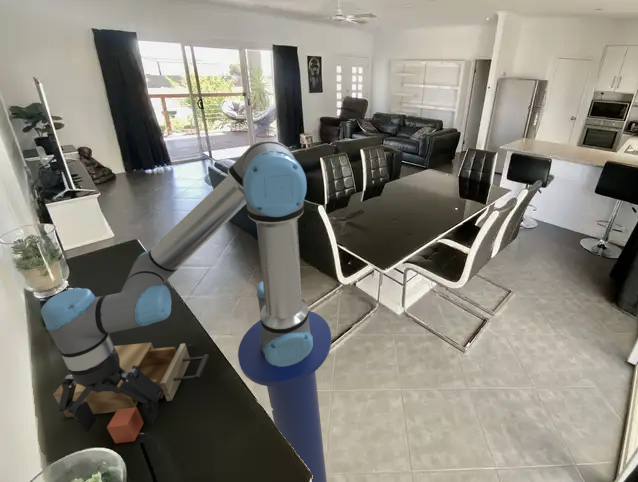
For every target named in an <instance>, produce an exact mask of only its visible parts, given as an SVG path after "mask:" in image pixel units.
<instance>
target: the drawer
mask: <svg viewBox="0 0 638 482" xmlns="http://www.w3.org/2000/svg"><path fill="white" fill-rule="evenodd" d="M209 358H210V356H209V354H203V356H195V357H194V356H193V357H190V355H189V351H188V349H187V345H186V343H184V342H183V343H180V344H179V346H178V348H177V349H176V346H168V347H159V348H158V347H157V348H154V349H149V350H148V352H147V354H146V355H145V357H144V358H143V360H142V362H141V363H140V365H139V366H138V367H139V369H140V371H141V372H142V373H143V374H144V375H145V376H147V377H148V378H149V379H150V380H152V381H153V382H154V383H155V384H157V385H158V386H159V387H161V388H162V389H163V393H162V395H161V397H160V399H163V398H165V400H166V402H170V401H173V399H174V396H175V395H176V392H177V390H178V388H179V386H180V384H181V382H182V381H186V380H195V381H199V380H201V377H202V375H203V372H204V370H205V368H206V365H207V363H208V360H209ZM191 361H192V362H194V361H200V363H199V365H198V367H197V370H196V372H195V374H194V375H186V376H185V373H186V371H187V369H188V367H189V364H190V362H191ZM164 396H165V397H164ZM160 399H159V400H160ZM132 400H133V402H135V401H137V400H135V399H133V398H132Z"/></svg>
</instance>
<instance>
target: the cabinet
mask: <svg viewBox="0 0 638 482" xmlns="http://www.w3.org/2000/svg"><path fill="white" fill-rule="evenodd" d="M114 347H115V349H116V351H117V354H118V356H119V359H120V367H121V368H122V369H123V370H129V369H131V368H132V367H133V366H134V365H136V366H139V365H140V363H141V362H142V360H143V358H144V357H145V355H146V354H147V352H148V350H149V349H155V348H154V345H153V343H152V342H143V343H142V342H141V343H132V344H120V345H114ZM122 382H123V381H122V380H120V382H119V384H118V385H117V387H119V386H120V385H121V383H122ZM84 389H85V387H84V386H82V385H79V384H77V385H76V389H75V392H74V396H73V400H72V401H76V400H77V398H78V397H79V396H80V394H81V393H82V392H83V391H84ZM62 391H63V388H62V385H61V384H60V385H59V387H58V388H57V389H56V390H55V391H54V393H53V394H52V395H53V397H54V398H55V401H56V402H57V404H58V405H59V404H60V399H61V395H62ZM83 402H88V404H89V406H90V408H91V410H92V412H93V414H94V415H100V414H108V413H116V411H117V410H118V409H125V408H134V407H137V405H138V404H139V403H140V402H139V401H135V402H133V400H132V398H131V397H129V396H127V395H125V394H123V393H119V394H117V393H114V392H112V391H102V392H98V393H96V392H94V391H90V393H89V394H88V395H87V397H86V398H85V399H84V400H83ZM83 402H82V403H83ZM82 403H81V405H82ZM63 413H64V416H65V417H66V418H75V417H74V416H73V414H72V413H69V412H68V411H67V410H65V411H64V412H63Z"/></svg>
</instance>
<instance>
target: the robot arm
mask: <svg viewBox="0 0 638 482" xmlns="http://www.w3.org/2000/svg"><path fill="white" fill-rule="evenodd" d="M307 183H308V182H307V177H306V173H305V171H304V169H303V167H302V165H301V164H300V163H299V161H298V160H297V159H296V158H295V156H294V154H293V152H292V151H291V150H290V149H289V148H288V147H287V146H286V145H285V144H283V143H281V142H279V141H276V140H270V139H269V140H268V139H267V140H260V141H258V142H256V143H253V144H252V145H251V146H249V147H248V148H247V149H245V151H244V153H242V154H241V155H240V157H239V158H238V159H237V160H236V161H235V162H234V163H233V164H232V165H231V166H230V167H229V168H228V169H227V176H226V177H225V178H224V179H223V180H222V181H221V182H220V183H219V184H218V185H216V186H215V187H214V189H212V191H210V192H209V193H208V194H207V195H206V196H205V197H204V198H203V199H202V200H201V201H200V202H199V203H198V204H196V206H195V207H193V209H191V210H190V212H188V213H187V214H186V215H185V216H184V217H183V218H182V219H181V220H180V221H179V222H178V223H177V224H176V225H175V226H174V227H173V228H172V229H170V230H169V232H168V233H167V234H166V235H164V236H163V237H162V238H161V239H160V240H159V241H158V242H157V243H156V244H155V245H154V246H152V248H150V250H147V251H144V252H142V253H141V254H140V255H138V257H137V258H136V260H135V261H134V262H133V263H132V266H131V269H130V272H129V273H128V276H127V278H126V280H125V282H124V284H123V287H122V289H121V291H120V292H117V293H112V294H107V295H101V296H98V297H97V296H95V294H94V293H93V292H92V291H91V289H89V288H85V287H84V288H82V287H76V288H75V287H74V288H70V289H67V290H64V291H61V292H59V293H58V294H55V295H54V296H52V297H50V298H49V299H47V300H46V302H45V303H44V304H43V306H42V307H41V308H40V314H41V317H42V319H43V321H44V322H43V323H44V324H45V329H46V330H47V331H48V333H49V334H50V336H51V338H52V339H53V341H54V343H55V345H56V346H57V348H58V351H59V354H60V355H61V357H62V359H63V361H64V364H65V365H66V368H67V370H69V373H68V374H66V376H65V377H64V378H63V380H62V381H61V382H60V386H61V385H62V388H63V391H62V395H61V399H60V404H58V408H57V411H58V412H59V413H64V411H65V410H67V411H68V412H69V413H72V414H73V416H74V417H73V418H74V420H75V421H78V422H79V424H80V426H81V428H82V430H83V432H84V433H89V432H90V430H91V429H92V428H93V426H94V425H95V423H96V422H97V418H96V416H95V414H93V412H92V410H91V408H90V406H89V404H88V402H83V400H84V399H85V398H86V397H87V395H88V394H89V393H90V391H94V392H96V393H98V392H102V391H112V392H114V393H117V394H119V393H123V394H125V395H127V396H129V397H131V398H133V399H135V400H137V401H139V402H138V403H141V404H142V406H141V409H142V410H143V413H144V415H145V418H146V421H147V423H148V425H149V426H152V425H154V424H155V422H156V419H157V418H158V415H159V410H158V407H159V400H160V397H161V395H162V393H163V389H162V388H161V387H159V386H158V385H157V384H155V383H154V382H153V381H152V380H150V379H149V378H148V377H147V376H145V375H144V374H143V373H142V372H141V371H140V369H139V367H138V366H136V365H134V366H133V367H132V368H131V369H129V370H123V369H122V368H121V367H120V359H119V356H118V354H117V351H116V349H115V347H114V346H115V344H114V343H113V340H112V338H111V336H110V334H112V333H117V332H121V331H126V330H131V329H137V328H140V327H148V326H149V325H152V324H154V323H158V322H162V321H165V320H167V319H168V318H169V317H170V315H171V312H172V296H171V292H170V289H169V287H168V286H167V285H166V283H167V281H168V279H169V278H171V276H173V275H174V274H175V273H176V272H177V271H178V270H179V269H180V268H181V266H183V265H184V264H185V263H186V262H187V261H188V260H189V259H190V258H191V257H192V256H193V255H194V254H195V253H196V252H197V251H198V250H200V249H201V248H202V247H203V246H204V245H205V244H206V243H207V242H208V241H209V240H210V239H211V238H212V237H213V236H214V235H215V234H216V233H217V232H219V230H221V228H223V226H225V225H226V224H227V223H228V222H229V221H230V220H231V219H232V218H233V217H234V216H235V215H237V213H238V212H239V211H240V210H241V209H243V208H244V207H245V206H246V212H247V216H248V218H249V219H250V220H251V221H253V222H255V223H256V230H257V231H256V232H257V242H258V250H259V259H260V267H261V276H262V281H260V282H259V284H258V285H257V287H256V297H257V301H258V307H259V318H260V319H259V320H261V328H262V335H261V338H260V348H261V351H262V353H263V355H264V356H265V358H266V360H267V362H268V363H270V364H271V365H276V366H279V367H283V366H290V365H293V364H296V363H298V362H300V361H301V360H303V359H304V358H305V357H306V356H307V355H308V354H309V353H310V352H311V350H312V347H313V336H312V335H311V332H310V327H309V312H308V311H309V305H308V302H307V301H306V300H305V299H304V298H303V297H302V280H301V279H302V278H301V277H302V276H301V261H300V260H301V259H300V244H299V241H300V240H299V227H298V226H299V223H298V219H299V218H300V217H302V215H303V214H304V212H305V206H304V205H305V203H304V200H305V199H306V198H305V197H306V195H307V189H308V188H307ZM120 380H122V381H123V382H122V383H121V385H120V386H119V387H117V385H118V384H119V382H120ZM77 384H79V385H82V386H84V387H85V389H84V391H83V392H82V393H81V394H80V396H79V397H78V398H77V400H76V401H72V400H73V396H74V392H75V389H76V385H77ZM82 402H83V403H82ZM81 403H82V405H81Z"/></svg>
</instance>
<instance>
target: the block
mask: <svg viewBox="0 0 638 482" xmlns="http://www.w3.org/2000/svg"><path fill="white" fill-rule="evenodd" d="M143 425H144V420H143V418H142V416H141V414H140V412H139V409H138V406H136V407H134V408H125V409H118V410H117V411H116V412H114V415H113V416H112V418H111V420H110V422H109V423H108V424H107V427H106V429H107V431H108V433H109V434H110V435H109V436H110V437H111V438H112V440H113V442H114V444H122V443H129V442H135V441H136V439H137V437H138V435H139V433H140V431H141V429H142V428H143Z"/></svg>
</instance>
